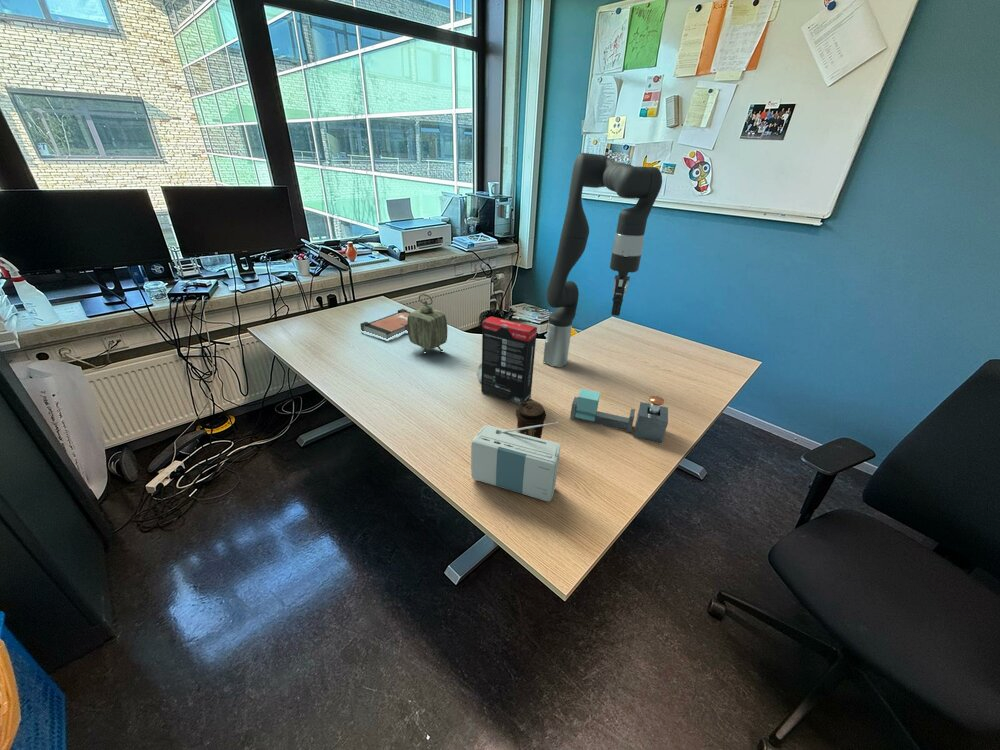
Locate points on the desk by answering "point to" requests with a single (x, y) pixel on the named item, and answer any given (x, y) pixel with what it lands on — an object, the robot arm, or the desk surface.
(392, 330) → the book
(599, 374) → the desk surface
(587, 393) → the carriage
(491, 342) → the graphics card box
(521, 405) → the coffee cup
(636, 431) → the grey cube with hole
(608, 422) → the rail
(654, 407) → the plunger
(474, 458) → the stereo radio cassette player
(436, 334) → the tabletop clock
